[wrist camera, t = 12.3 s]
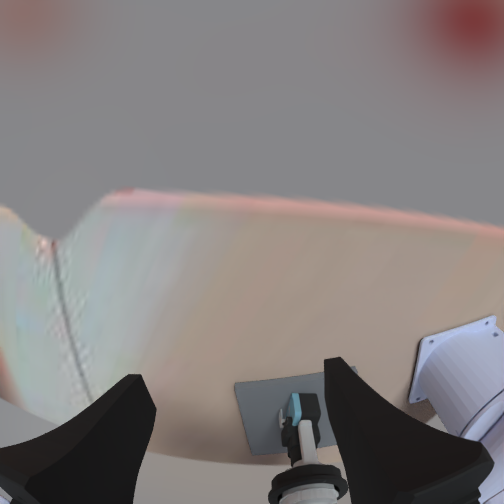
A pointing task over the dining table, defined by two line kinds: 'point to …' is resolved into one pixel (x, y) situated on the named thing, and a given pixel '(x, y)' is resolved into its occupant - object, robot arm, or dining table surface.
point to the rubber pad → (278, 410)
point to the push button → (305, 458)
